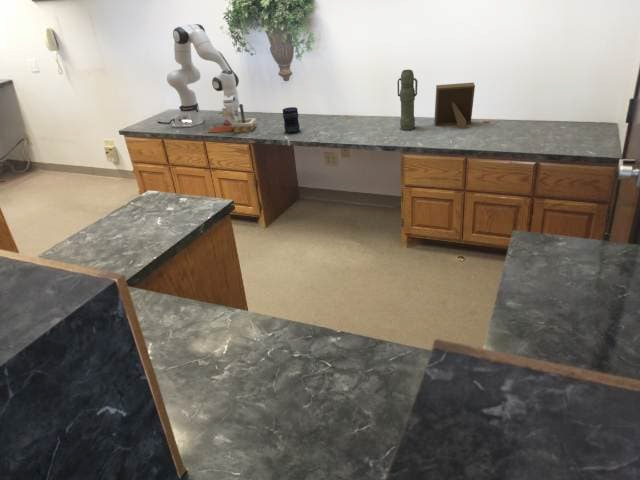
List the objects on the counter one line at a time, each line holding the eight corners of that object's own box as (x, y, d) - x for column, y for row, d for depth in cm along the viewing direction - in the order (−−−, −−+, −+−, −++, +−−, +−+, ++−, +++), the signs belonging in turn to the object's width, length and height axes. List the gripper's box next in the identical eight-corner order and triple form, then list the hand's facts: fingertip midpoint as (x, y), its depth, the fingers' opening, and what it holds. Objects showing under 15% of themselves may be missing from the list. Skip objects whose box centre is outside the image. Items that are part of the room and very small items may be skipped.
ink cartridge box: (224, 124, 364) (220, 103, 357) (226, 122, 369) (222, 102, 362) (236, 123, 363) (232, 103, 356) (237, 122, 367) (234, 101, 361)
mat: (208, 132, 348) (208, 132, 348) (214, 127, 360) (214, 126, 360) (231, 131, 346) (231, 131, 346) (236, 125, 358) (236, 125, 358)
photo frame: (434, 123, 320) (435, 83, 308) (469, 121, 318) (471, 80, 306) (437, 130, 307) (438, 88, 295) (474, 128, 305) (476, 85, 293)
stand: (234, 132, 343) (229, 106, 335) (238, 127, 353) (234, 102, 345) (251, 131, 341) (247, 105, 333) (255, 126, 352) (251, 101, 343)
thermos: (416, 130, 311) (416, 71, 295) (397, 130, 314) (396, 72, 298) (417, 126, 319) (418, 68, 302) (399, 126, 322) (398, 69, 305)
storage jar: (291, 129, 338) (289, 106, 331) (303, 130, 332) (300, 107, 325) (281, 133, 331) (279, 110, 324) (293, 134, 326) (290, 111, 319)
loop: (231, 127, 340) (231, 124, 339) (236, 121, 352) (236, 119, 351) (251, 126, 338) (251, 123, 338) (255, 120, 350) (255, 118, 349)
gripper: (230, 93, 341) (234, 114, 347) (222, 100, 323) (226, 122, 329) (239, 92, 340) (243, 113, 346) (231, 99, 322) (235, 121, 328)
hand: (234, 117), depth 338 cm, fingers open, 8 cm apart
